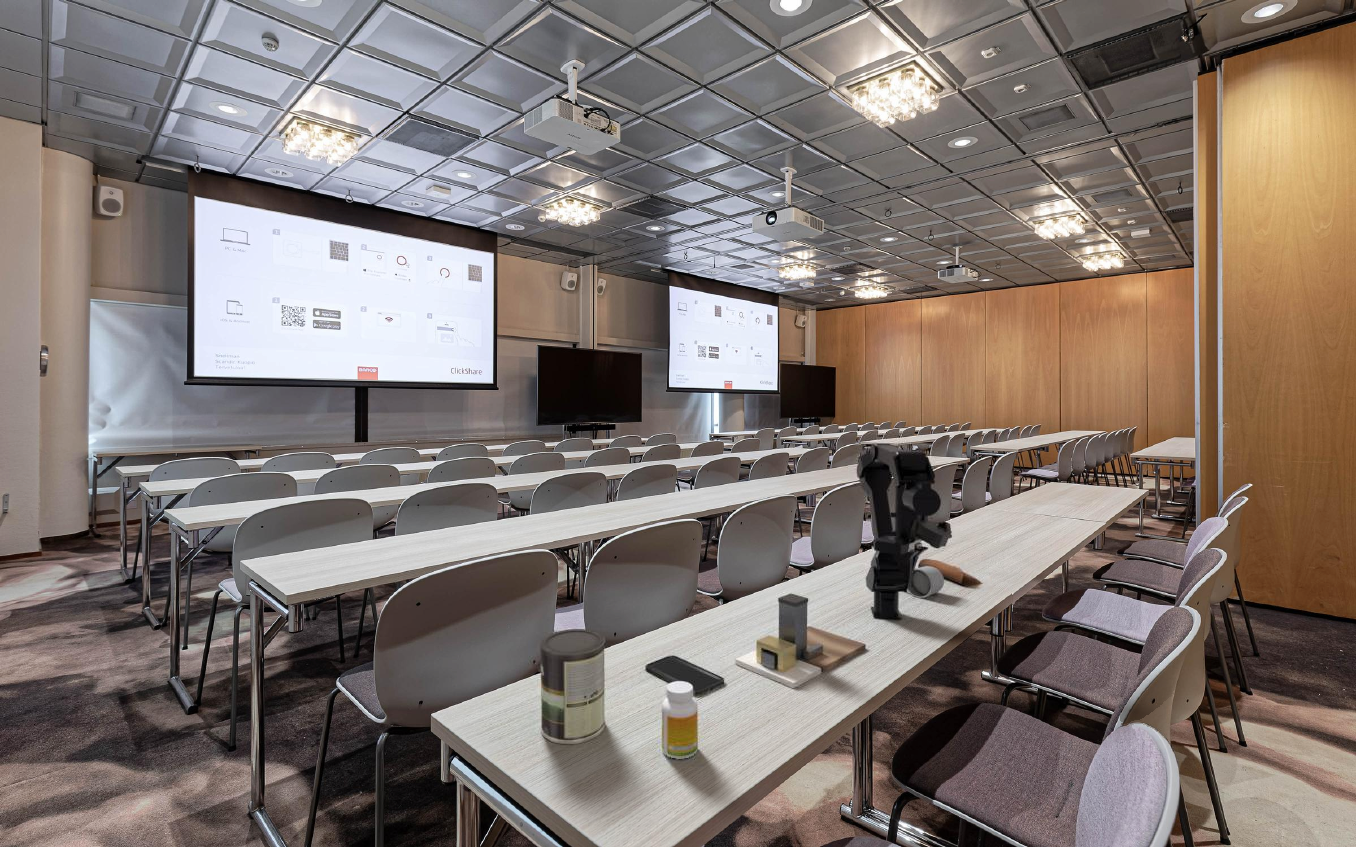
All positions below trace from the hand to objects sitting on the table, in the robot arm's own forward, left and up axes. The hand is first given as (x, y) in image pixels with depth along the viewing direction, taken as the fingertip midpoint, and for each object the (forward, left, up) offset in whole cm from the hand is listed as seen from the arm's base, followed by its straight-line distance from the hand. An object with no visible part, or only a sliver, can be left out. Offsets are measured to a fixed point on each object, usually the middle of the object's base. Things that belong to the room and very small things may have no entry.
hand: (907, 579), depth 134 cm
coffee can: (+49, -59, -13) cm, 77 cm away
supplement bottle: (+52, -41, -13) cm, 67 cm away
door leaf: (+10, -20, -13) cm, 26 cm away
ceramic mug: (-33, +8, -13) cm, 36 cm away
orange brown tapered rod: (-51, +20, -14) cm, 57 cm away
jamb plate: (+21, -27, -13) cm, 37 cm away
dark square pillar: (+19, -26, -12) cm, 35 cm away
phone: (+28, -45, -14) cm, 54 cm away
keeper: (+21, -28, -13) cm, 37 cm away
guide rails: (+15, -23, -13) cm, 30 cm away
